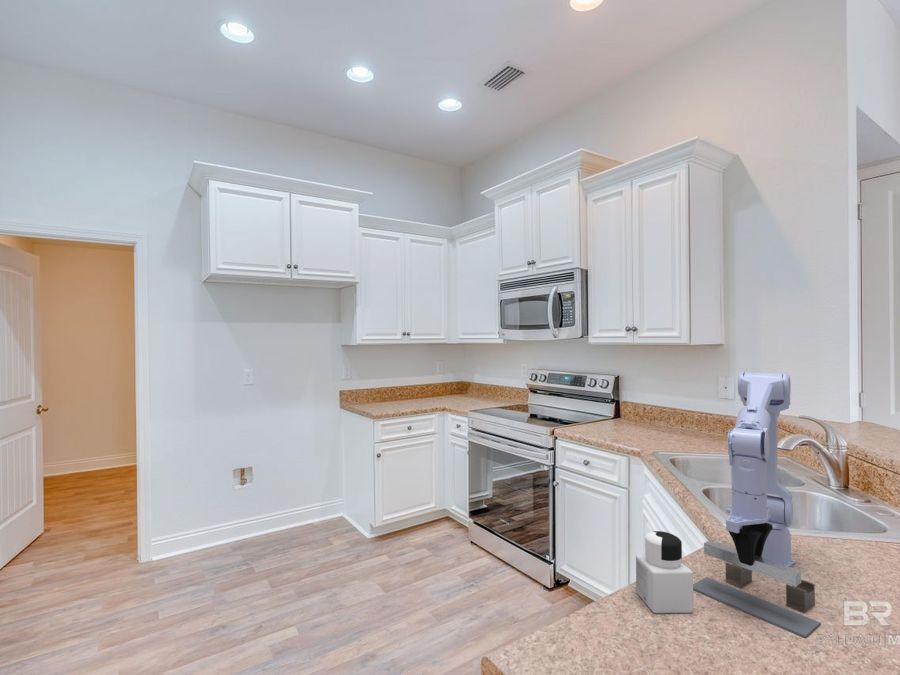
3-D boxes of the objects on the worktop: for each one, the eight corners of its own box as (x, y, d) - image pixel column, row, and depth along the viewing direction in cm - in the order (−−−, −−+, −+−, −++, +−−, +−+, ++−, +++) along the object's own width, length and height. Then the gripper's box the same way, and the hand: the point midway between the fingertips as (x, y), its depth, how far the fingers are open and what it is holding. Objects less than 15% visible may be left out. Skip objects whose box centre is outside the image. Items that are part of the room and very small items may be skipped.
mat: (706, 578, 99) (706, 576, 99) (820, 624, 83) (820, 622, 83) (689, 588, 95) (689, 586, 95) (805, 638, 79) (805, 636, 79)
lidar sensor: (672, 591, 94) (672, 527, 94) (694, 613, 86) (693, 543, 86) (635, 592, 93) (634, 527, 94) (653, 614, 86) (652, 543, 86)
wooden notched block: (736, 575, 100) (736, 557, 101) (752, 581, 98) (751, 562, 98) (725, 581, 98) (725, 562, 98) (741, 588, 95) (740, 568, 95)
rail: (710, 550, 96) (710, 540, 96) (801, 582, 83) (801, 570, 83) (704, 553, 95) (703, 542, 95) (795, 586, 82) (795, 574, 82)
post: (796, 598, 91) (796, 577, 92) (814, 604, 89) (814, 584, 89) (786, 605, 89) (786, 584, 89) (805, 613, 86) (804, 591, 86)
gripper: (743, 480, 97) (744, 545, 96) (708, 491, 89) (709, 563, 88) (782, 488, 91) (783, 558, 91) (749, 501, 83) (750, 578, 82)
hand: (749, 561), depth 89 cm, fingers closed on rail, 2 cm apart
